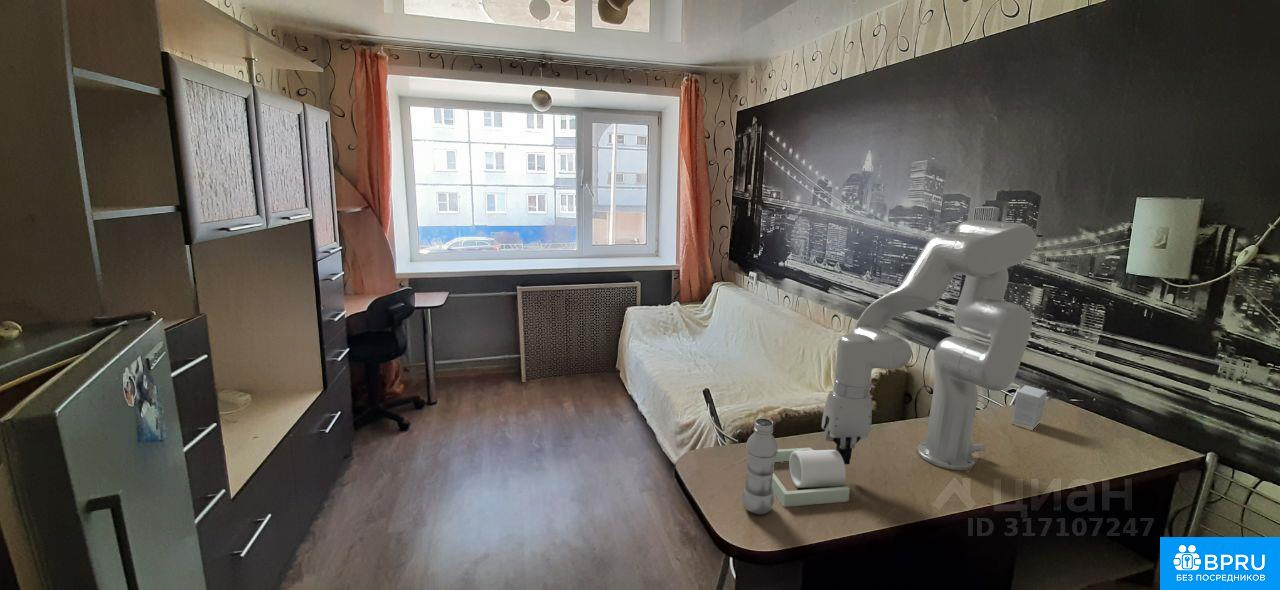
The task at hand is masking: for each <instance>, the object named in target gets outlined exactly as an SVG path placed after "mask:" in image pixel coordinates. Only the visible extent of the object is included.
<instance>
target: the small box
mask: <svg viewBox="0 0 1280 590" xmlns="http://www.w3.org/2000/svg"><path fill="white" fill-rule="evenodd" d="M1047 394H1048V390H1046V389H1041V388H1038V387H1034V386H1030V385H1028V384H1027V385H1026V384H1025V385H1024V386H1022V387H1021V388H1020V389H1019V390H1018V391H1016V396H1015V401H1014V407H1013V412H1012V418H1011V422H1012V423H1016V424H1021V425H1025V426H1029V427H1033V428H1034V427H1035V426H1036V425H1037V423H1038V422H1039V421H1040V420H1041V421H1042V418H1043V413H1044V410H1045V405H1046V399H1047V396H1048V395H1047Z"/></svg>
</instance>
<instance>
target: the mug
mask: <svg viewBox="0 0 1280 590" xmlns="http://www.w3.org/2000/svg"><path fill="white" fill-rule="evenodd" d="M788 463H789V465H788V466H789V467H788V468H789V474H790V477H791V480H792V483H793V484H794V486H795V487H796V488H798V489H799V488H800V489H801V488H802V489H803V488H804V489H805V488H806V489H807V488H808V489H809V488H834V487H843V485H844V484H845V482H846V477H847V476H846V475H847V474H846V472H847V471H846V464H844V461H843V458H842V456H841V454H840V453H839V452H838V451H837V450H836V449H816V450H815V449H813V448H811V449H800V450H797V451H793V452H792V453H791V455H790V460H789V462H788Z"/></svg>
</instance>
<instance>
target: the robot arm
mask: <svg viewBox="0 0 1280 590" xmlns="http://www.w3.org/2000/svg"><path fill="white" fill-rule="evenodd" d="M1037 244H1038V236H1037V234H1036V232H1035V230H1034V229H1033V228H1031V227H1030V226H1029V225H1025V224H1022V223H1016V222H1005V221H995V220H986V219H971V220H965V221H962V222H960V223H959V224H958V225H957V227H956V228H955V232H954V233H939V234H936V235H934V236H932V237H930V239H929V240H928V241H927V242H926V244H925V245H924V247H923V248H922V249H921V252H920V253H919V255H918V256H917V258H916V259H915V261H914V262H913V264H912V265H911V267H910V269H909V271H908V272H907V273H906V275H905V276H904V278H903V280H902V281H901V283H900V284H899V285H898V286H897V287H896V288H895V289H892V290H891V291H889V292H887V293H885V294H884V295H882V296H881V297H879V298H878V299H875V301H873V302H872V303H870V304H869V306H867V307H866V308H865V309H864V310H863V311H862V313H861V315H860V316H859V318H858V319H857V321H856V323H855V324H854V326H853V328H852V330H851V332H850V333H845V334H842V335H841V336H840V338H839V340H838V342H837V343H838V345H837V354H836V362H835V372H834V378H833V389H832V390H830V391H829V392H828V394H827V397H826V401H825V404H824V408H823V413H822V417H821V418H822V419H821V428H822V430H824V432H823V435H822V438H823V439H824V440H825V441H827V442H834V443H835V444H836V447H835V450H837V451H838V452H839V453H840V454H841V456H842V458H843V461H844V464H845V465H850V463H851V462H850V461H851V459H852V451H853V449H854V448H855V447H856V444H857V443H859V441H860V440H861V441H862V440H865V439H867V438H868V437H869V434H870V431H871V428H872V419H873V418H872V417H873V406H872V397H871V395H870V390H871V389H874V388H875V384H874V382H871V381H872V380H871V379H872V371H873V369H881V370H897V369H901V368H903V367H905V366H906V365H907V364H908V363H909V362H910V360H911V358H912V355H913V353H912V352H913V351H912V347H911V345H910V344H909V343H908V342H907V340H904V339H903V338H902V337H899V336H897V335H894V334H892V333H889V332H887V331H885V330H883V328H884V327H885V326H886V325H887V324H888V323H889V322H890V321H891V320H892V319H894V318H896V317H897V316H899V315H903V314H905V313H910V312H915V311H920V310H925V309H930V308H933V307H935V306H936V305H937V303H938V302H939V301H940V298H942V296H943V294H944V293H945V291H946V290H947V289H948V287H949V285H950V283H951V281H952V280H953V278H955V276H956V275H957V274H958V275H962V276H965V280H964V283H963V286H962V289H961V292H960V295H959V299H958V302H957V305H956V307H955V311H954V314H953V316H954V317H953V323H954V325H955V326H956V328H957V329H959V330H960V331H962V332H965V333H967V334H969V335H974V336H976V337H980V338H982V339H986V340H988V341H989V345H987V344H985V343H982V342H979V341H976V340H974V339H973V340H972V339H970V338H967V337H963V336H954V335H953V336H948V337H945V338H943V339H942V340H940V341H939V342H938V343H937V345H936V347H935V349H934V354H933V360H934V361H933V362H934V383H933V384H934V386H933V393H932V396H931V397H932V399H931V404H930V411H929V416H928V423H927V429H926V435H925V441H922V442H920V443H918V445H917V448H916V452H917V454H918V456H920V458H922V459H923V460H924V461H926V462H928V463H930V464H932V465H935V466H936V467H939V468H944V469H947V470H953V471H954V470H955V471H965V470H970V469H972V468H973V466H974V464H975V458H974V457H973V456H972V454H974V453H975V452H976V453H977V452H984V451H985V450H986V447H985V445H984V443H974V444H973V441H972V439H971V438H972V433H973V426H974V422H975V417H976V410H977V406H978V400H979V399H978V398H979V394H978V388H977V386H978V387H981V388H982V389H986V390H989V391H993V392H999V391H1003V390H1005V389H1007V388H1009V386H1010V385H1011V384H1012V383H1013V381H1014V379H1015V378H1016V376H1017V373H1018V371H1019V368H1020V364H1021V363H1022V359H1023V357H1024V353H1025V351H1026V348H1027V345H1028V342H1029V339H1030V337H1031V332H1032V326H1033V321H1032V320H1033V319H1032V317H1031V314H1030V312H1029V310H1027V309H1026V308H1025V307H1023V306H1022V305H1020V304H1016V303H1013V302H1009V301H1005V300H1004V299H1005V294H1006V291H1007V287H1008V284H1009V271H1008V269H1009V268H1011V267H1013V266H1016V265H1018V264H1021V263H1022V262H1024V261H1026V260H1027V259H1028V258H1030V257H1031V256H1032V254H1033V253H1034V252H1035V250H1036V248H1037Z"/></svg>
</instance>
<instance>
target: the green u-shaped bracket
mask: <svg viewBox="0 0 1280 590" xmlns="http://www.w3.org/2000/svg"><path fill="white" fill-rule="evenodd" d="M800 449H812V447H799V448H796V447H795V448H780V449H779V448H778V452H777V456H776V460H775V462H779V461H789V460H790V455H791V453H792V452H793V451H797V450H800ZM850 490H851V489H850V487H848V486H846V485H845V486H834V487H820V488H808V489H799V490H787V489H786V488H785V486H784V484H783V483H782V482H781V480H780V479H779V478H778V476H777V475H776V474H775V473H774V472H773V493H774V496H776V498H777V499H778V501H779V502H780V503H781V504H782V507H784V508H785V507H787V508H788V507H797V506H809V505H820V504H821V505H822V504H832V503H833V504H835V503H845V502H849V499H850V492H851V491H850Z"/></svg>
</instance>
